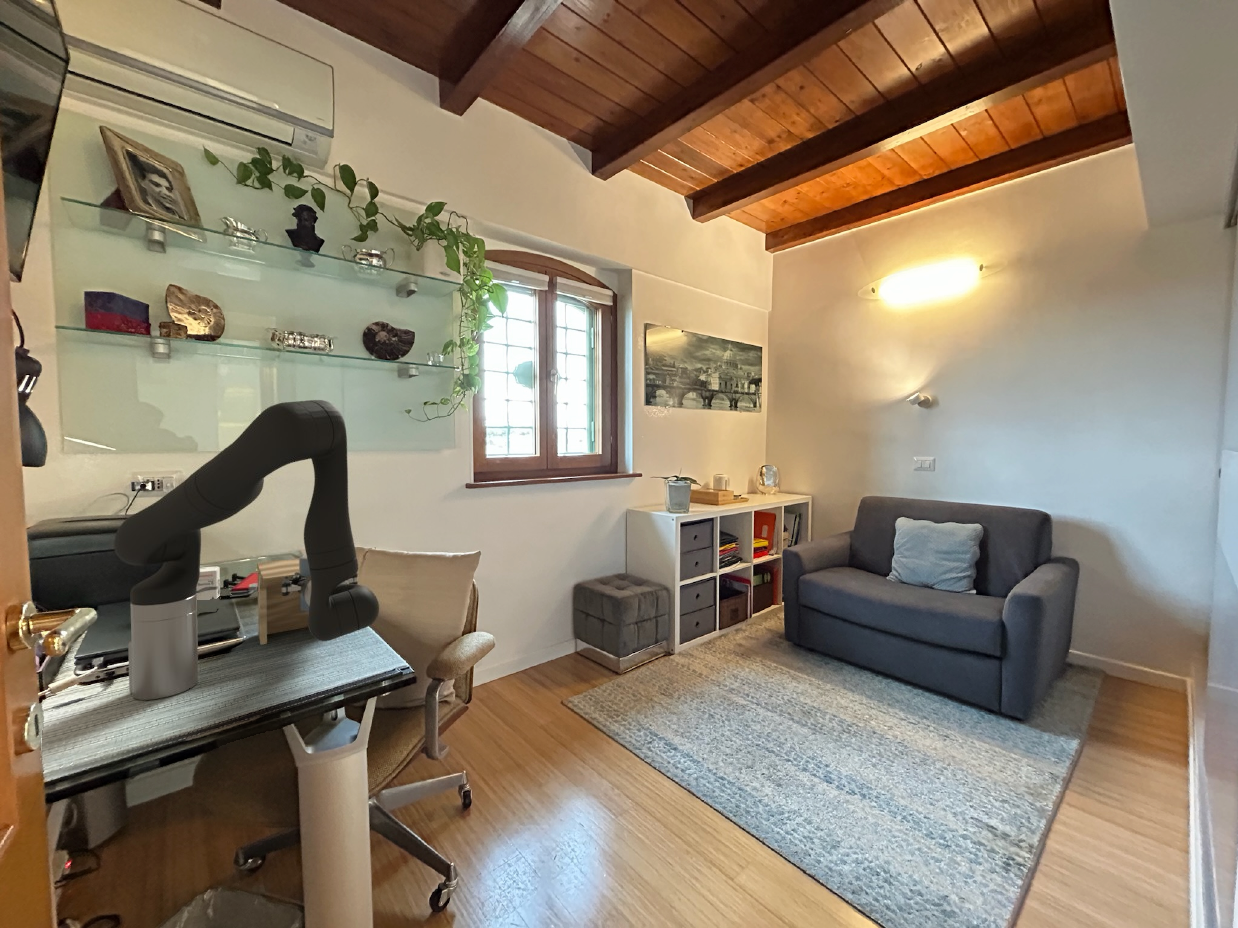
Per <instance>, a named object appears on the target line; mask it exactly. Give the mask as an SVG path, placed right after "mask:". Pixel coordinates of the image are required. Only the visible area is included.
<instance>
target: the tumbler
mask: <svg viewBox="0 0 1238 928" xmlns="http://www.w3.org/2000/svg"><path fill="white" fill-rule="evenodd" d="M298 558H299V574H300V575H304V574H308V575H310V569H309V564H308V560H307V555H306V554H305V555H302V556H301V555H300V556H299V557H298ZM300 610H302V611H309V605H308V604H307V603H306V601H305V599H304V597H303V595H302V593H300Z"/></svg>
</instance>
